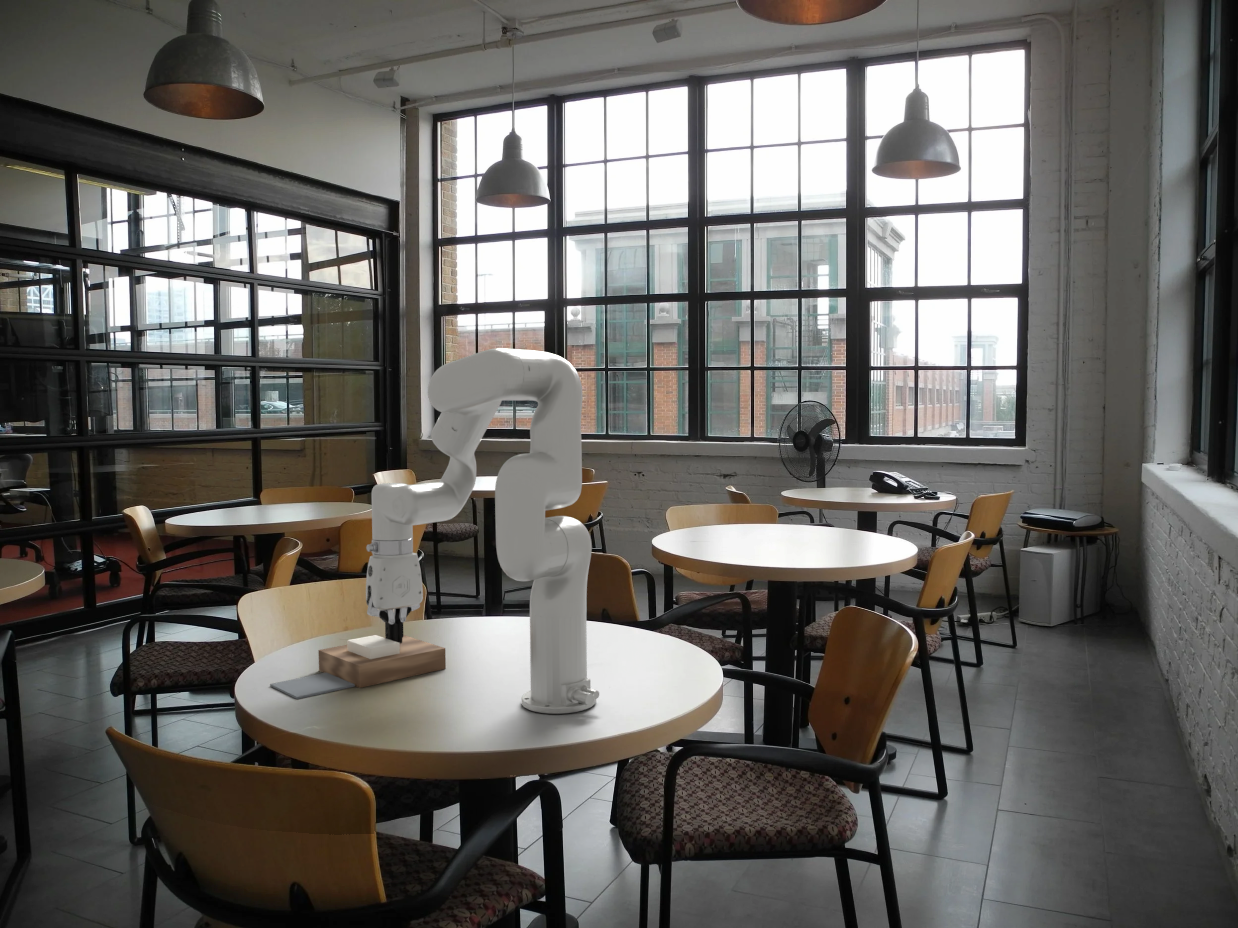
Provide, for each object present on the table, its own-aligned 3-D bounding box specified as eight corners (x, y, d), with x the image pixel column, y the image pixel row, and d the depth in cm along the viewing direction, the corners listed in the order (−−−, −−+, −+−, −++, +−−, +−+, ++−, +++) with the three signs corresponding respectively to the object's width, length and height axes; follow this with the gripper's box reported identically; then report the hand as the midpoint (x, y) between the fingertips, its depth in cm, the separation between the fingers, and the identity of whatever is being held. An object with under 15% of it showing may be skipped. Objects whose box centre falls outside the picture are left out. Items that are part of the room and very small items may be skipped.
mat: (354, 686, 169) (354, 684, 169) (297, 699, 162) (296, 696, 162) (326, 674, 177) (326, 672, 177) (270, 685, 170) (270, 683, 170)
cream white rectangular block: (399, 653, 177) (399, 642, 176) (370, 659, 172) (370, 648, 172) (375, 645, 183) (375, 634, 183) (347, 650, 179) (347, 640, 179)
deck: (445, 668, 181) (445, 648, 180) (359, 687, 168) (359, 665, 168) (402, 653, 192) (401, 634, 192) (318, 670, 180) (318, 649, 180)
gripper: (366, 554, 172) (368, 653, 173) (437, 545, 182) (438, 639, 183) (347, 549, 178) (349, 645, 179) (417, 542, 188) (418, 633, 189)
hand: (394, 642), depth 181 cm, fingers closed
